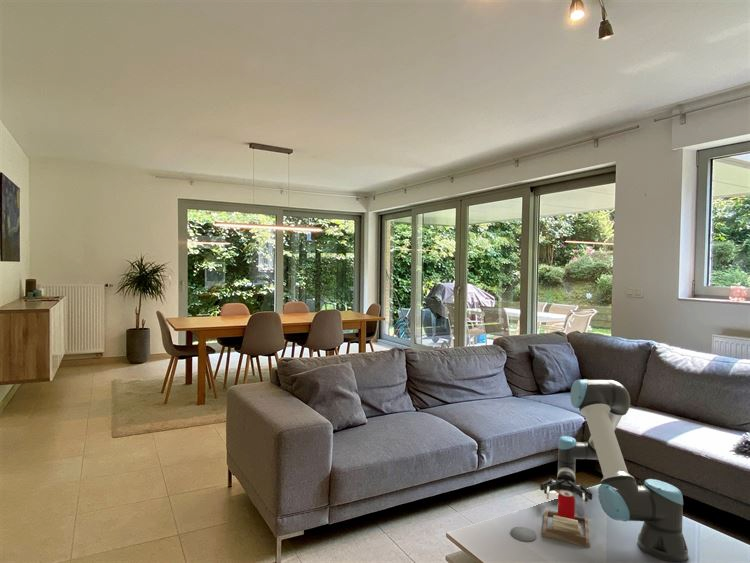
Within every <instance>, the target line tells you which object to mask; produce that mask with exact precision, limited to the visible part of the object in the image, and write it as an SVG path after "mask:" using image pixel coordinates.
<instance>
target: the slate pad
mask: <svg viewBox="0 0 750 563" xmlns="http://www.w3.org/2000/svg"><path fill="white" fill-rule="evenodd" d="M510 534H511V536H512V537H513V538H514V539H516V540H519V541H522V542H527V543H528V542H533V541H535V540H536V539H537V534H536V532H535V531H534V530H533V529H530V528H528V527H524V526H515V527H512V528H511V530H510Z"/></svg>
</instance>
